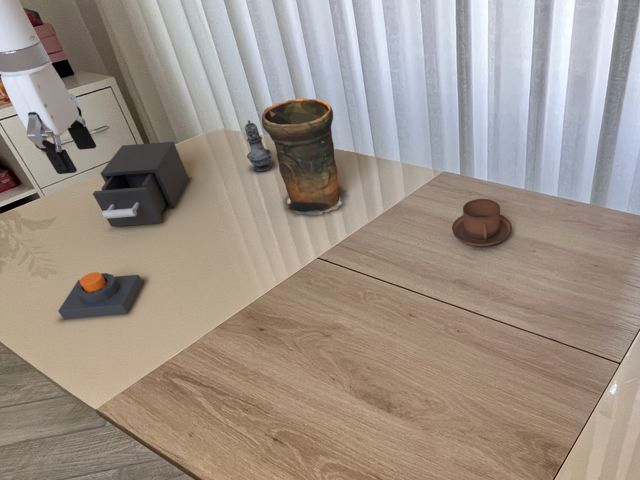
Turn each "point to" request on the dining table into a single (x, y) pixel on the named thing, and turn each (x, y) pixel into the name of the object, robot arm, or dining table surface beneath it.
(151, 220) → the dark grey drawer
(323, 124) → the vessel
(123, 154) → the small drawer cabinet
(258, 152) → the grey chess piece
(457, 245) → the dining table surface
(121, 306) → the control block
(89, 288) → the button
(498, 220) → the cup and saucer
